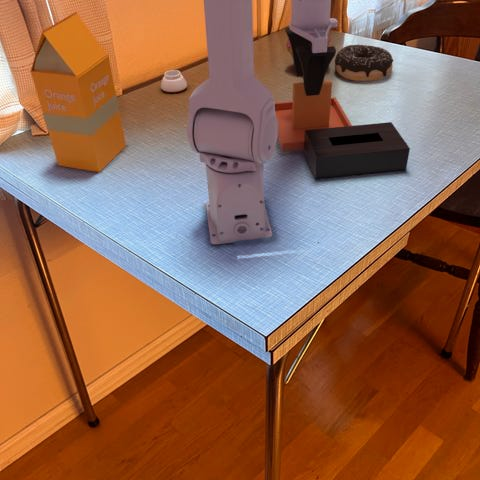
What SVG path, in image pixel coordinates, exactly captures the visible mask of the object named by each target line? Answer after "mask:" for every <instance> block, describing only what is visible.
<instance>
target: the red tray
mask: <svg viewBox="0 0 480 480" xmlns="http://www.w3.org/2000/svg"><path fill="white" fill-rule="evenodd" d="M274 103H275V113H276V117H277V120H278V137H277V142H278V144H279V146H280V149H281V152H292V151H304V134H305V130H313V129H324V128H334V127H345V126H353V125H352V123H351V121H350V120H349V118H348V116H347V115H346V113H345V111H344V109H343V108H342V106H341V104H340V102H339V101H338V99H337V97H335V96H334V97H333V96H331V105H330V119H329V126H321V127H310V128H300V129H293V127H292V104H293V100H290V101H279V102H278V101H277V102H274Z"/></svg>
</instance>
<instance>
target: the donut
mask: <svg viewBox="0 0 480 480" xmlns="http://www.w3.org/2000/svg"><path fill="white" fill-rule="evenodd" d="M393 62H394V59H393V56H392V54H391V53H390V51H389V50H387V49H385V48H384V47H381V46H375V45H367V44H365V45H364V44H349V45H346V46H343V47H342V48H341V49H339V51H337V52H336V54H335V58H334V68H335V70H336V72H337V73H338V74H339V75H340V76H341V77H343V78H344V79H347V80H349V81H356V82H373V81H379V80H382V79H384V78H386V77H388V76H389V75H390V74H391V73H392V70H393Z"/></svg>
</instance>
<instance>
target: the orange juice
mask: <svg viewBox="0 0 480 480" xmlns="http://www.w3.org/2000/svg"><path fill="white" fill-rule="evenodd" d="M111 67H112V66H111V63H110V57H109V53H107V51H106V50H105V49H104V47H103V46H102V45H101V43H100V42H99V41H98V39H97V38H96V36H95V35H94V34H93V33H92V31H91V30H90V28H89V27H88V26H87V25H86V23H85V22H84V20H83V19H82V18H81V16H80V15H79V14H78V11H74V12H73V13H72V14H70V15H67V16H66V17H64V18H63V19H61V20H59V21H57V22H56V23H54V24H52V25H51V26H49V27H46V29H43V30H41V34H40V38H39V41H38V45H37V47H36V52H35V55H34V58H33V61H32V65H31V69H30V73H31V79H32V82H33V84H34V88H35V91H36V95H37V98H38V101H39V105H40V108H41V112H42V116H43V120H44V123H45V126H46V130H47V132H48V136H49V139H50V142H51V145H52V149H53V152H54V155H55V159H56V162H57V165H58V166H59V167H66V168H72V169H77V170H84V171H91V172H96V173H97V172H98V173H101V171H103V170H104V169H105V167H107V165H108V164H110V162H112V161H113V159H115V158H116V157H117V156H118V155H119V154H120V153H121V152H122V151H123V150H124V149H125V148H126V147H127V143H126V137H125V134H124V128H123V122H122V118H121V114H120V106H119V101H118V96H117V95H118V94H117V92H116V88H115V83H114V78H113V71H112V68H111Z"/></svg>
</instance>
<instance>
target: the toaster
mask: <svg viewBox="0 0 480 480" xmlns="http://www.w3.org/2000/svg"><path fill="white" fill-rule="evenodd" d="M410 149H411V148H410V146H409V144H407V142H406V141H405V139H404V138H403V137H402V135H401V134H400V132H399V131H398V130H397V128H396V126H395V125H394V124H393V122H391V121H390V122H379V123H378V122H377V123H368V124H367V123H366V124H357V125H356V124H355V125H352V126H345V127H334V128H324V129H313V130H305V134H304V149H303V153H304V156H305V158H306V160H307V163H308V165H309V168H310V170H311V173H312V175H313V177H314V180H315V181H318V180H320V181H321V180H329V179H339V178H347V177H348V178H350V177H357V176H359V177H360V176H371V175H377V174H389V173H399V172H406V171H407V167H408V161H409V156H410Z"/></svg>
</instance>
